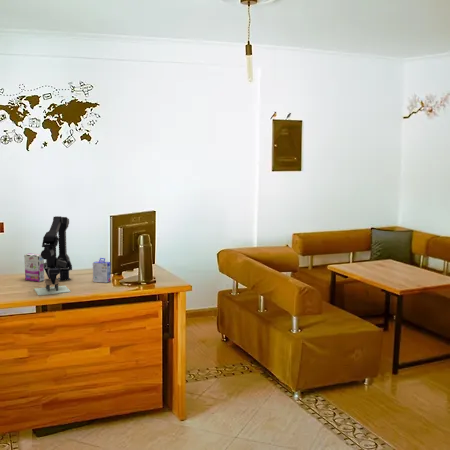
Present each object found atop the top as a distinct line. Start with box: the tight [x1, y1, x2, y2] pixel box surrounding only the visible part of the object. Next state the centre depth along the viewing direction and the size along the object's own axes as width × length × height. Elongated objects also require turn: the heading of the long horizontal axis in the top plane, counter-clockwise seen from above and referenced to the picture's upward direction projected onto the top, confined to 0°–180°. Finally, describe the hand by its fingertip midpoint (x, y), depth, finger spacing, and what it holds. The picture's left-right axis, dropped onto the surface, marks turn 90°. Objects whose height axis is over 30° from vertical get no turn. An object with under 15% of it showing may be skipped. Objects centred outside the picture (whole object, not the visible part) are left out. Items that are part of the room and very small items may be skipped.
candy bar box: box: [23, 253, 45, 283], centre depth 364 cm, size 11×5×16 cm, turn 68°
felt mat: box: [33, 285, 72, 297], centre depth 342 cm, size 14×18×1 cm
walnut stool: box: [44, 277, 60, 292], centre depth 341 cm, size 6×6×6 cm
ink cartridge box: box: [92, 257, 112, 283], centre depth 364 cm, size 10×6×14 cm, turn 78°
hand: (52, 282), depth 341 cm, fingers open, 9 cm apart
